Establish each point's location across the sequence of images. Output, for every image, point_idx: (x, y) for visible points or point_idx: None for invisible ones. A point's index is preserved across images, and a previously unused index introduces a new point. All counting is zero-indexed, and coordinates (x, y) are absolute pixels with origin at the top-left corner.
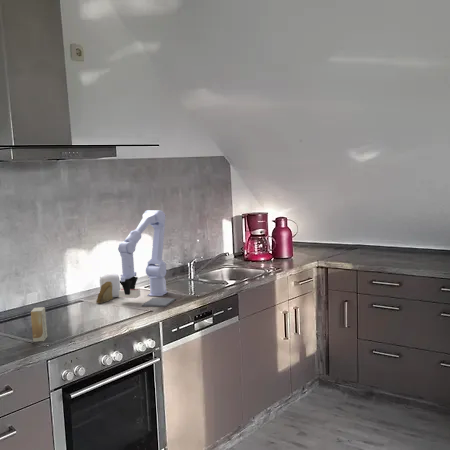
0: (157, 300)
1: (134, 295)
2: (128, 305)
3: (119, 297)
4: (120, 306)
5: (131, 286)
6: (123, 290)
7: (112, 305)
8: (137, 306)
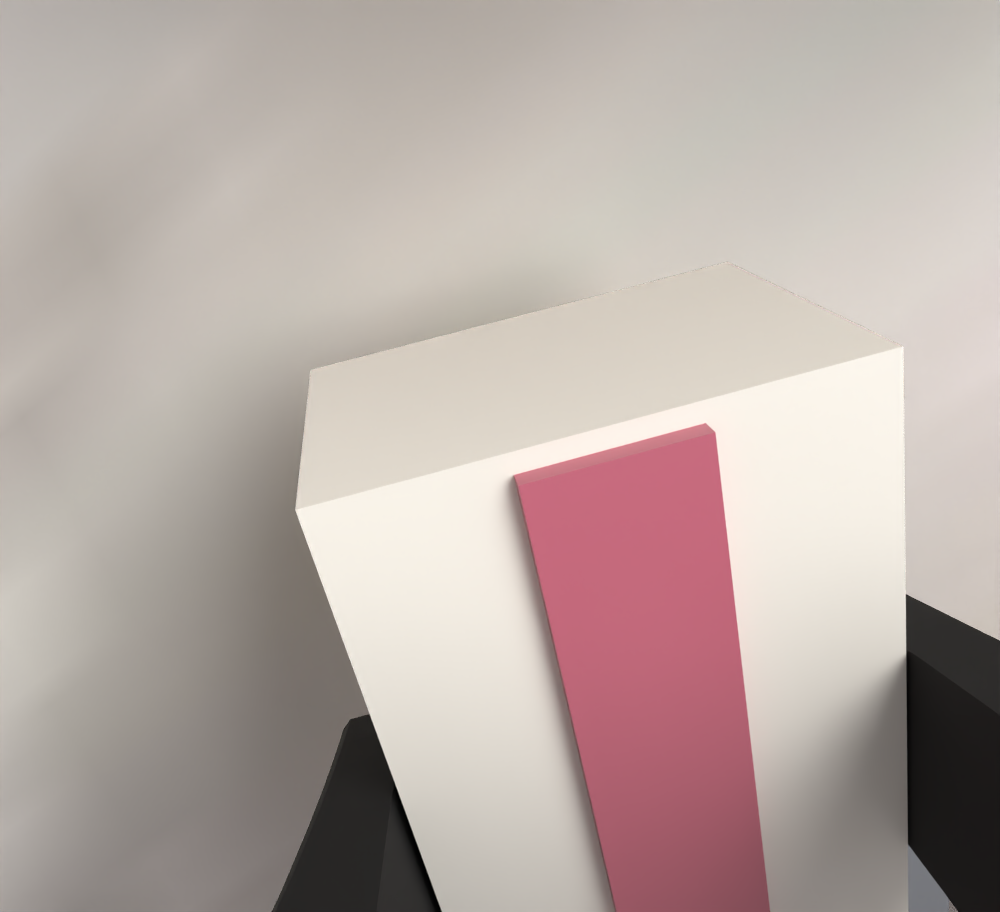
0: None
1: None
2: (267, 662)
3: (315, 378)
4: (65, 541)
5: (995, 832)
6: (432, 704)
7: (34, 191)
8: (271, 894)
